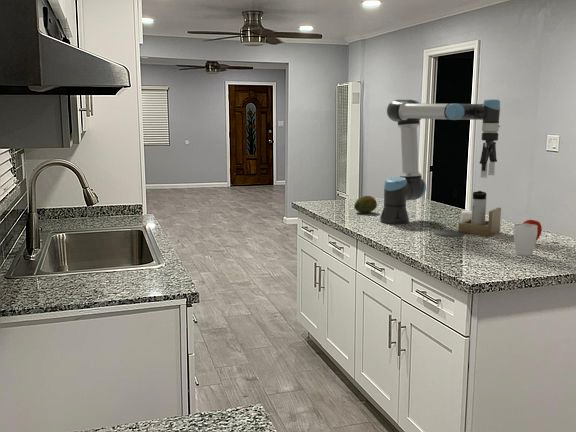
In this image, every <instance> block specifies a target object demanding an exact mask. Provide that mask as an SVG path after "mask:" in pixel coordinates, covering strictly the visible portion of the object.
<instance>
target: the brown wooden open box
mask: <svg viewBox="0 0 576 432" xmlns="http://www.w3.org/2000/svg"><path fill="white" fill-rule="evenodd" d="M501 217H502V208H501V207H496V208H494V209H491V210H489V211H488V220H485V225H478V224H471V220H472V219H467V220H465V221H463V222H461V221H460V222H459V223H458V231H459V232H460V233H465V235H470V236H478V237H480V236H481V237H489V238H491V237H493V236H495V235H498V234H499V233H500V232H501V220H502V219H501Z"/></svg>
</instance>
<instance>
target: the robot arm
mask: <svg viewBox="0 0 576 432" xmlns="http://www.w3.org/2000/svg"><path fill="white" fill-rule="evenodd" d="M500 112H501V101H500V99H484V101H483V103H455V102H454V103H420V102H419V101H417V100H414V99H394V100H392V101H391V102H390V103H388V105H387V108H386V115H387V117H388V118H389V119H390V120H391V121H392V122H396V123H397V127H399V128H400V140H401V141H400V142H401V143H400V144H401V163H402V165H401V166H402V168H401V169H402V173H401V174H400V175H399V176H395V177H389V178H387V179H385V180H384V185H383V188H384V189H383V190H384V191H383V209H382V212H381V215H380V217H379V218H380V219H379V221H380V222H381V223H383V224H389V225H390V224H391V225H401V224H404V225H405V224H408V223H409V222H410V217H409V214H408V211H407V201H414V200H415V201H416V200H419V199H420V198H422V197H423V196H424V195H425V194H426V191H427V185H426V182H425V180H424V179H423V178H422V174H421V172H420V171H419V151H418V150H419V149H418V147H419V145H418V127H419V126H420V122H421V121H420V120H422V119H423V120H424V119H425V120H432V119H433V120H450V121H458V120H460V121H461V120H463V121H464V120H466V121H467V120H468V121H470V120H471V121H472V120H481V121H482V127H481V131H482V133H481V140H482V141H485V142H483V144H482V150H481V155H480V161H479V164H480V165H481V166H480V178H481V179H482V178H483V179H484V178H485V179H487V178H488V176H495V170H496V163H497V162H498V160H497V147H496V145H497V141H498V140H499V133H498V132H499V128H500V127H501V125H500V115H501V114H500Z"/></svg>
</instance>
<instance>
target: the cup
mask: <svg viewBox="0 0 576 432" xmlns="http://www.w3.org/2000/svg"><path fill="white" fill-rule="evenodd" d="M536 238H537V225H533V224H523V223H515V224H514V225H513V243H514V244H513V245H514V253H515V255H516V256H520V255H521V256H523V257H531V256H533V254H534V251H535V246H536V242H537V240H536Z"/></svg>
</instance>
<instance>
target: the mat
mask: <svg viewBox="0 0 576 432" xmlns="http://www.w3.org/2000/svg"><path fill="white" fill-rule="evenodd" d="M433 233H434V235H435V236H441V237H446V238H447V237H449V238H457V237H459V238H460V237H463V236H465V235H466V234H465V233H460V232H459V230H454V229H453V230H452V229H451V230H450V229H442V230H441V229H440V230H439V229H438V230H435V231H434V232H433Z"/></svg>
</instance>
